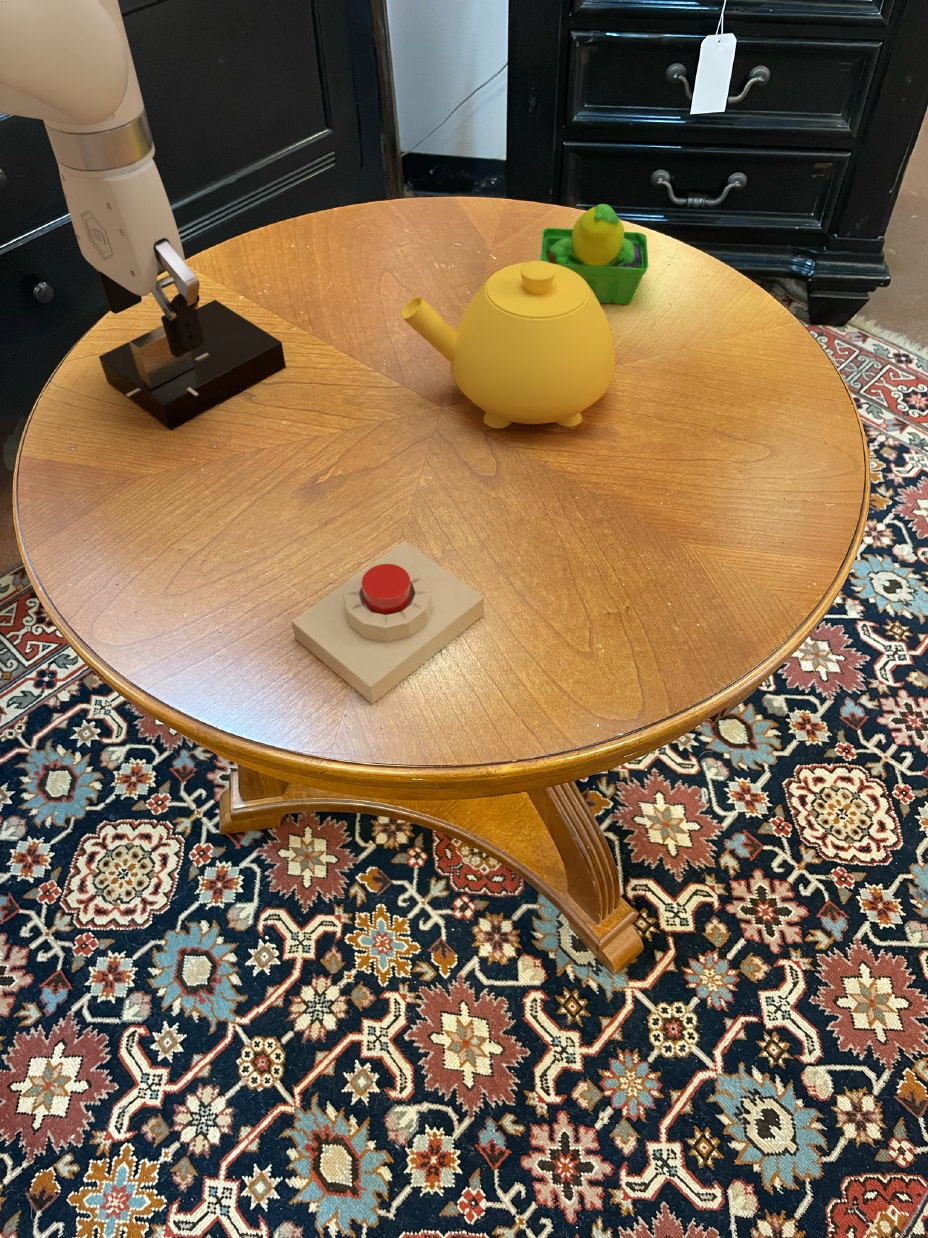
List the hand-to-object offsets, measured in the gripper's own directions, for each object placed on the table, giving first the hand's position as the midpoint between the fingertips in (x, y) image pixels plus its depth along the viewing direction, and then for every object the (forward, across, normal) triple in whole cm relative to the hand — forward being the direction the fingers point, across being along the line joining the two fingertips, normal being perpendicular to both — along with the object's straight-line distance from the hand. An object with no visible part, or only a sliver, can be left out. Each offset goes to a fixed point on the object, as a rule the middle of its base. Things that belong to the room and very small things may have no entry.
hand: (156, 327), depth 87 cm
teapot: (+8, +23, +23) cm, 33 cm away
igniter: (+8, +36, -5) cm, 37 cm away
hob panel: (+8, -2, +4) cm, 9 cm away
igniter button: (+4, +36, -5) cm, 37 cm away
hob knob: (+5, 0, 0) cm, 5 cm away
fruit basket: (+8, +17, +43) cm, 47 cm away
